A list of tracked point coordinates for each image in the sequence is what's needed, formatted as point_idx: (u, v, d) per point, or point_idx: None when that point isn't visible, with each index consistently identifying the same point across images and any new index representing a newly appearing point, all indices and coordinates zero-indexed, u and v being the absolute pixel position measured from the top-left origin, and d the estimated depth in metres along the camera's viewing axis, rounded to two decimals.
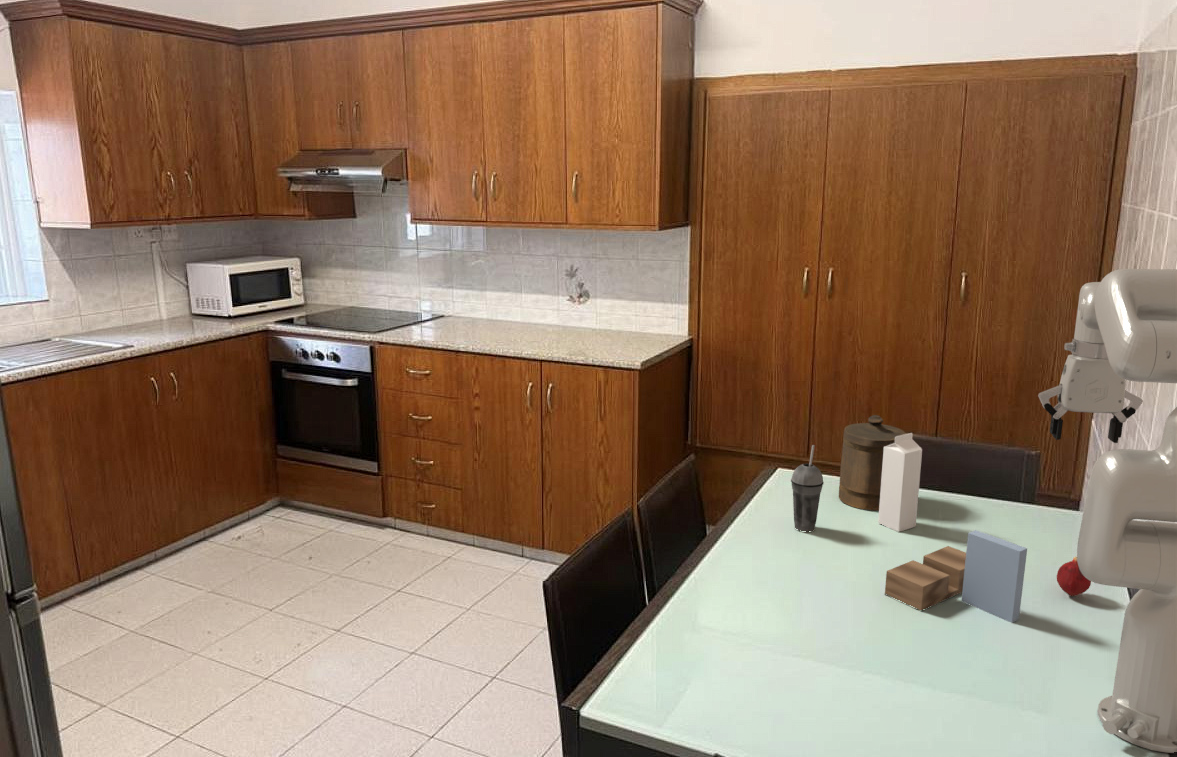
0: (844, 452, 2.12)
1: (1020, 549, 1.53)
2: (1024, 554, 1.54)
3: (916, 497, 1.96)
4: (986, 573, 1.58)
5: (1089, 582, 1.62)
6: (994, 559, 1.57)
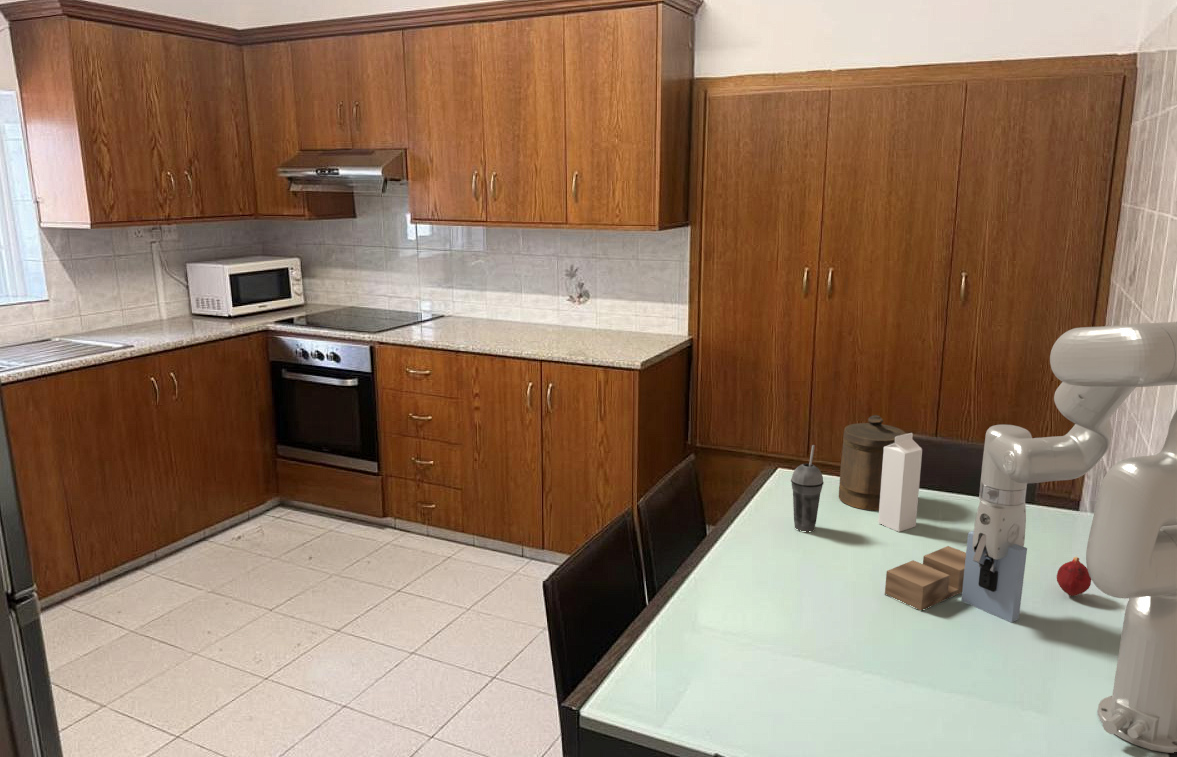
0: (844, 452, 2.12)
1: (1020, 549, 1.53)
2: (1024, 554, 1.54)
3: (916, 497, 1.96)
4: None
5: (1089, 582, 1.62)
6: None
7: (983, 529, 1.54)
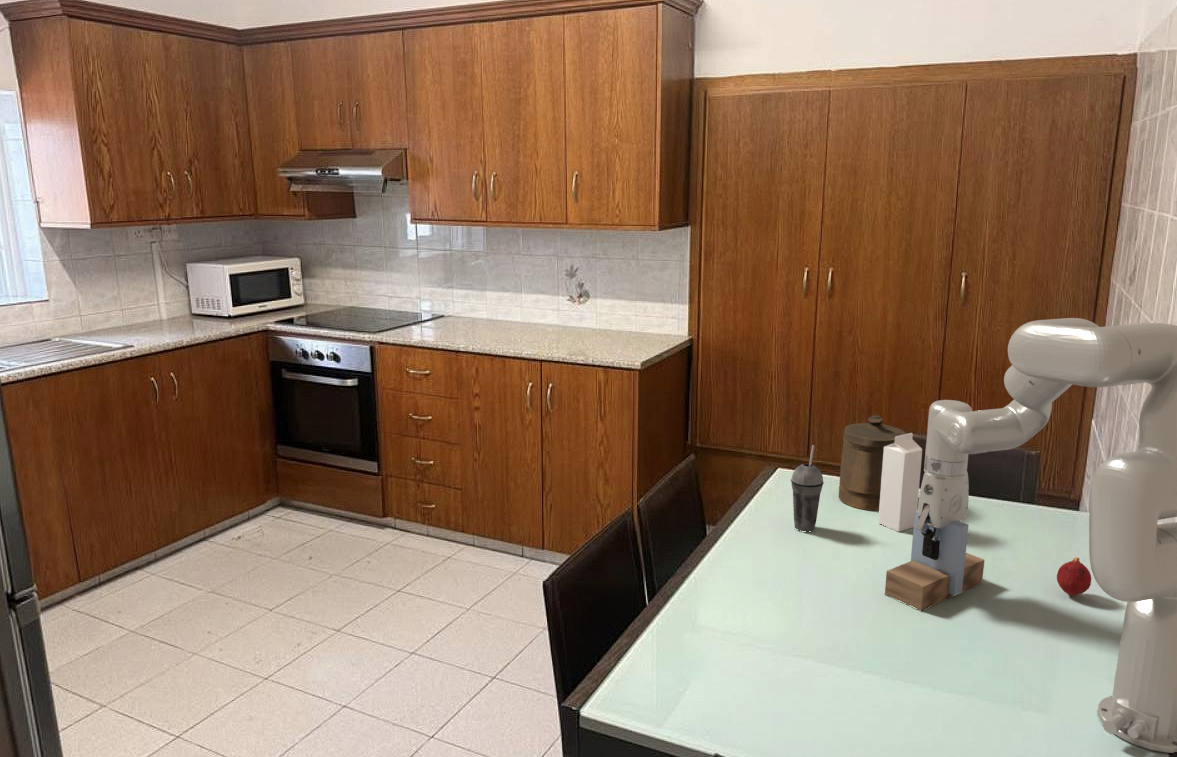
0: (844, 452, 2.12)
1: (962, 526, 1.61)
2: (965, 530, 1.61)
3: (916, 497, 1.96)
4: None
5: (1089, 582, 1.62)
6: (938, 536, 1.65)
7: (927, 499, 1.61)
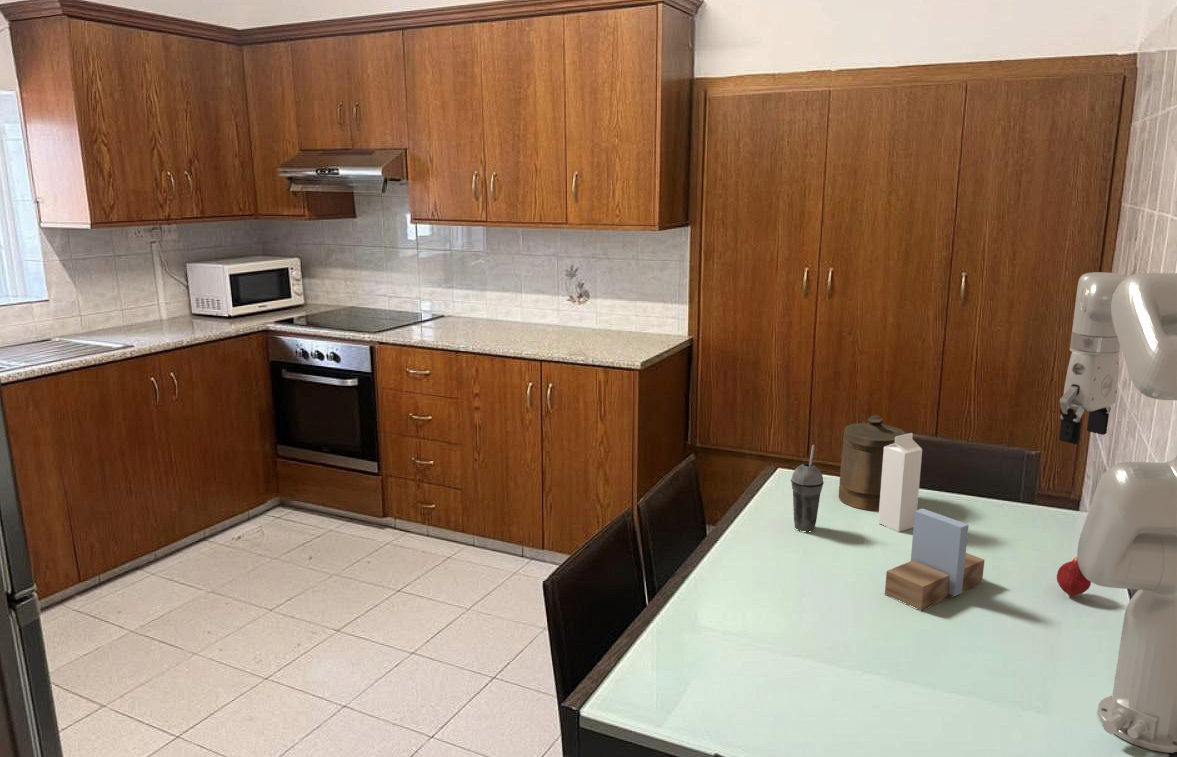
0: (844, 452, 2.12)
1: (962, 526, 1.61)
2: (965, 530, 1.61)
3: (916, 497, 1.96)
4: (931, 548, 1.66)
5: (1089, 582, 1.62)
6: (938, 536, 1.65)
7: (1076, 380, 1.48)
